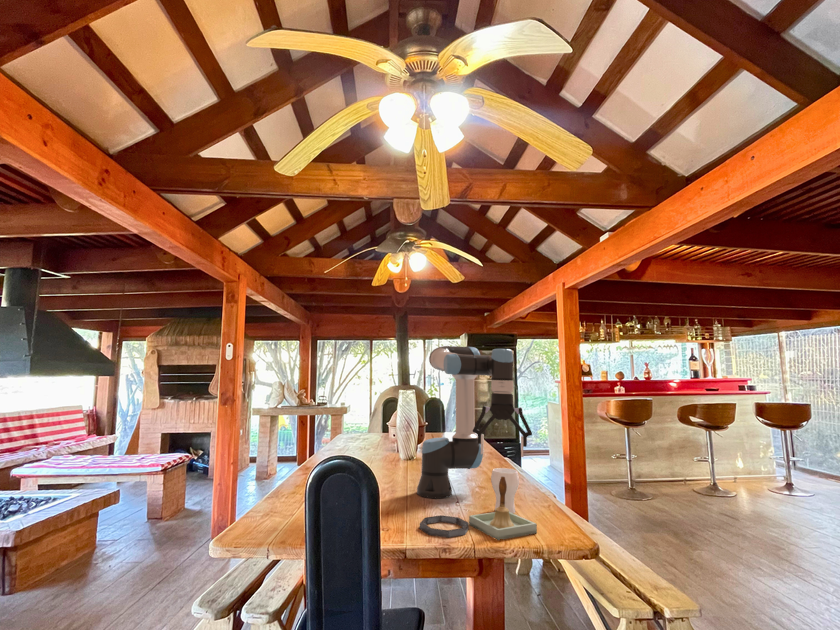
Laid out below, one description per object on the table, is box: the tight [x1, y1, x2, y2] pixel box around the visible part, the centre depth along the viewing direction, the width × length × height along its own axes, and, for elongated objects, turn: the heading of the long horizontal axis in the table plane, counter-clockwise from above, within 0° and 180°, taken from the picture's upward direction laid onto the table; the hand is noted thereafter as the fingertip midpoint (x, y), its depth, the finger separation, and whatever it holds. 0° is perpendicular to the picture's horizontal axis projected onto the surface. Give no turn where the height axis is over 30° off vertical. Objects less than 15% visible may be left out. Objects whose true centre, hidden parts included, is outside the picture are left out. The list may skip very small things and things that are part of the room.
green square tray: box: [468, 511, 538, 541], centre depth 150 cm, size 16×16×3 cm
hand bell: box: [490, 477, 514, 529], centre depth 151 cm, size 8×8×16 cm
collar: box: [419, 515, 470, 538], centre depth 149 cm, size 15×15×2 cm
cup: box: [490, 467, 520, 514], centre depth 171 cm, size 11×11×15 cm
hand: (502, 455), depth 153 cm, fingers open, 13 cm apart
